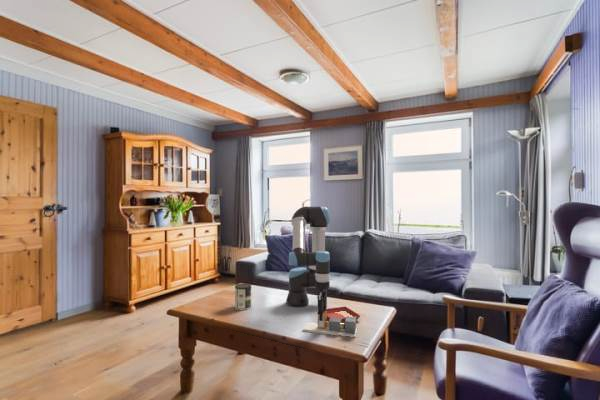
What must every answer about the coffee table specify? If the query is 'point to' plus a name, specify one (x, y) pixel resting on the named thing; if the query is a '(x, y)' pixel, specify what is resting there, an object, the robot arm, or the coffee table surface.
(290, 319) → the coffee table surface
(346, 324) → the socket
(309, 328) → the base board
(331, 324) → the grey speckled block
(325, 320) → the yellow wall block
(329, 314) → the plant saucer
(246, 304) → the coffee can
